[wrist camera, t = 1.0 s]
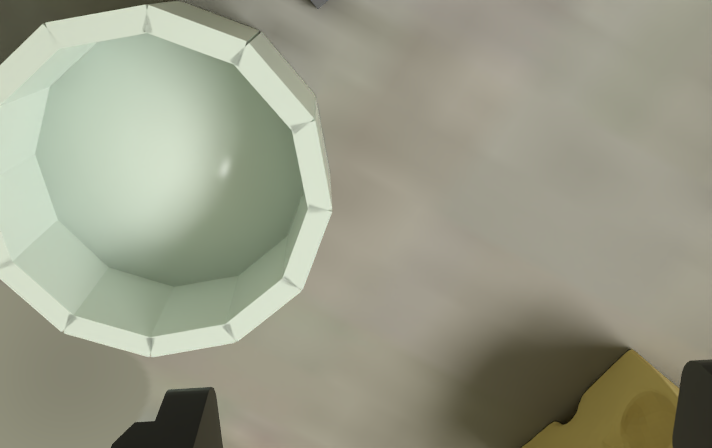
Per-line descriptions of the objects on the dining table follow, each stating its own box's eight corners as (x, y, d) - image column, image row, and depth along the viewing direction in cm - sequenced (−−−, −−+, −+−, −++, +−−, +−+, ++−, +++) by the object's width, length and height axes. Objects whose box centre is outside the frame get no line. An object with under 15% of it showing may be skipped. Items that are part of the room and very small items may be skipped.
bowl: (178, -66, 29) (146, -77, 24) (384, 176, 34) (397, 215, 28) (-41, 143, 32) (-117, 178, 26) (176, 343, 36) (150, 409, 31)
